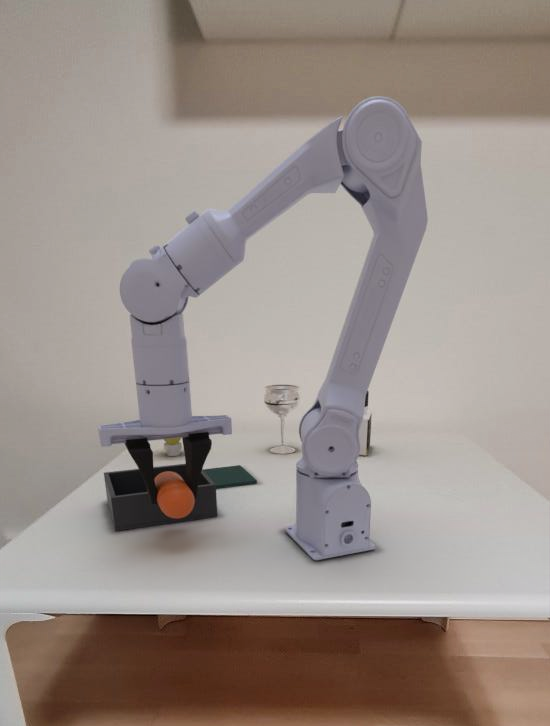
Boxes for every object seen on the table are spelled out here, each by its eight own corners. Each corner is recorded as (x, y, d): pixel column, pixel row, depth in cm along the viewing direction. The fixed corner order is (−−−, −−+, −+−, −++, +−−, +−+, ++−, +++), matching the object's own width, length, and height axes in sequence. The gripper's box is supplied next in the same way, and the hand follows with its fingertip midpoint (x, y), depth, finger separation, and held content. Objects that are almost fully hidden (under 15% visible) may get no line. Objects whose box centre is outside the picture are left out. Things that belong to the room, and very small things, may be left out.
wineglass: (294, 456, 101) (294, 390, 97) (260, 453, 103) (258, 389, 98) (304, 447, 107) (304, 385, 103) (271, 444, 109) (270, 383, 104)
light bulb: (164, 448, 105) (160, 397, 102) (197, 450, 104) (193, 398, 101) (148, 458, 99) (143, 403, 96) (183, 460, 98) (179, 404, 94)
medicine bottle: (366, 456, 101) (370, 391, 97) (328, 454, 102) (330, 389, 98) (370, 446, 107) (373, 385, 103) (334, 444, 109) (335, 384, 104)
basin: (217, 516, 73) (215, 484, 72) (115, 531, 68) (110, 497, 67) (198, 490, 83) (196, 462, 81) (107, 502, 78) (103, 472, 76)
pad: (257, 483, 86) (257, 480, 86) (194, 491, 82) (194, 488, 82) (240, 467, 94) (240, 465, 94) (182, 474, 90) (182, 471, 90)
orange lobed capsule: (199, 520, 62) (197, 487, 60) (163, 526, 60) (160, 492, 59) (182, 495, 69) (180, 465, 68) (151, 500, 68) (147, 469, 66)
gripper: (218, 373, 65) (223, 481, 70) (90, 380, 60) (106, 496, 65) (234, 381, 59) (239, 498, 64) (94, 390, 54) (111, 516, 59)
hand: (173, 498), depth 64 cm, fingers closed on orange lobed capsule, 4 cm apart
